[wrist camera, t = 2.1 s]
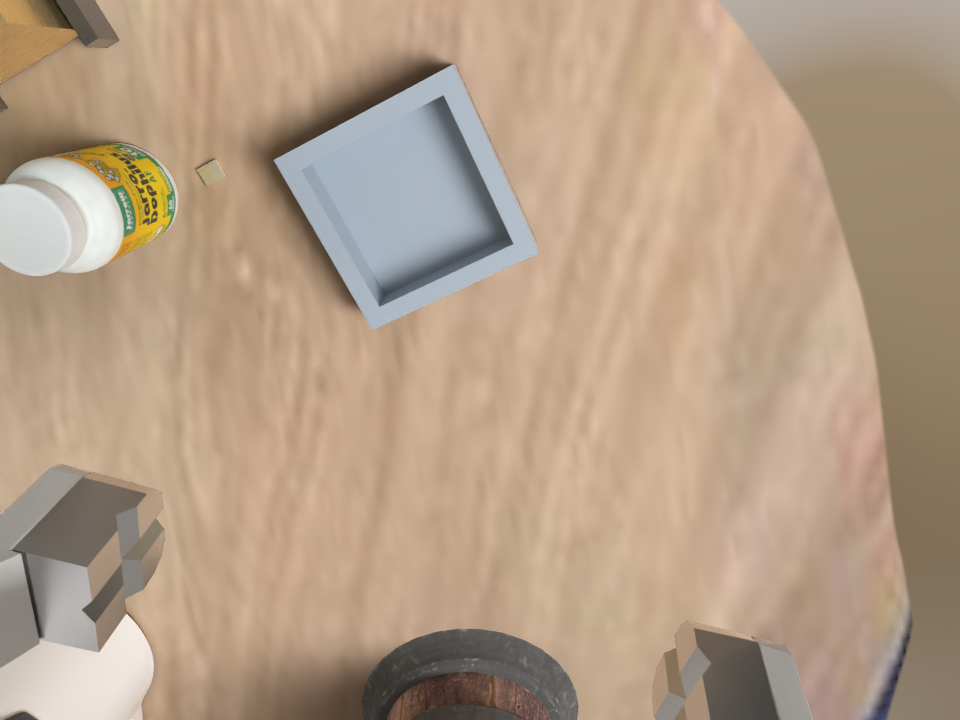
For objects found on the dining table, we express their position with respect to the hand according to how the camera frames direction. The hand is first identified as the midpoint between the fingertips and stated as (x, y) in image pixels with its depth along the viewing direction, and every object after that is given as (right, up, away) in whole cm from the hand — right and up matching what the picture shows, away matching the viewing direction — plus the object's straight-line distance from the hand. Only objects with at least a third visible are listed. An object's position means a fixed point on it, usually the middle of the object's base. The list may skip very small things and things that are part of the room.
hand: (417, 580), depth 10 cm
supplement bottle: (-18, +13, +27) cm, 35 cm away
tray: (-3, +12, +27) cm, 30 cm away
